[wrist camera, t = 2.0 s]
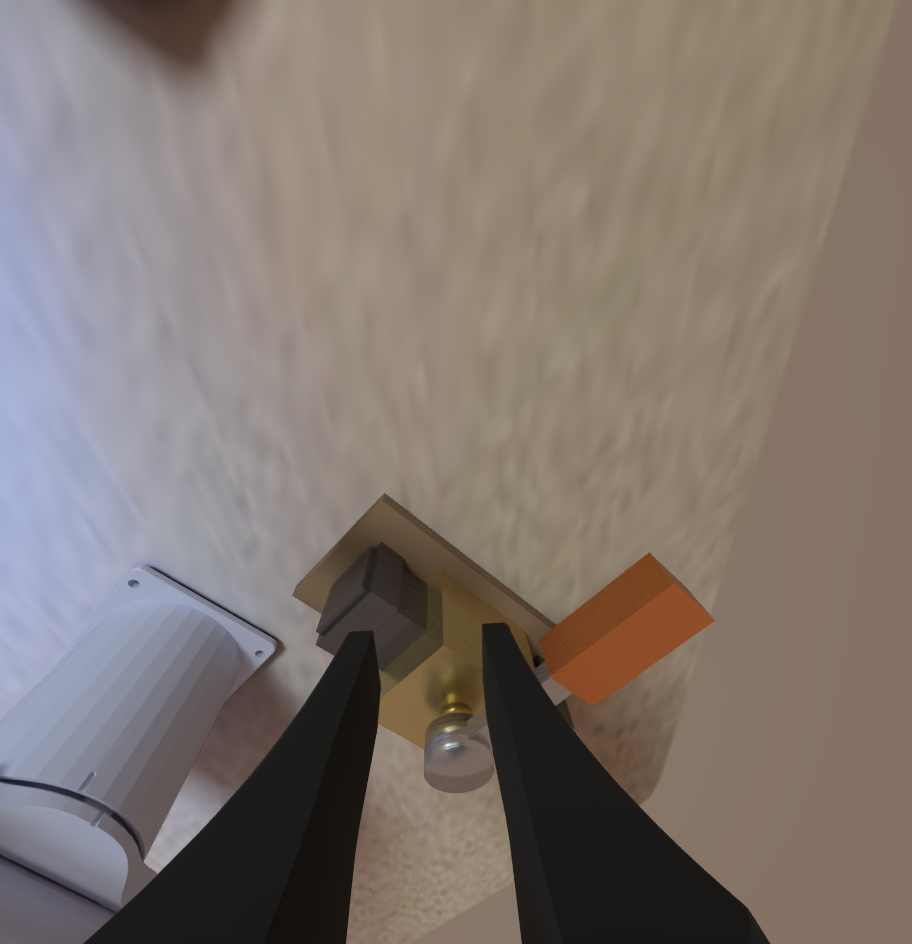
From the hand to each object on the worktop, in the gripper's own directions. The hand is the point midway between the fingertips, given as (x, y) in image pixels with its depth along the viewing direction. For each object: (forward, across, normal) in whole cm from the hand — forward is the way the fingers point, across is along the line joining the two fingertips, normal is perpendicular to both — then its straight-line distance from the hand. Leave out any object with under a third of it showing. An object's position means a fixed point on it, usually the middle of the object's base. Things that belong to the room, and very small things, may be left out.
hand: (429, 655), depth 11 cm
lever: (+3, -4, +4) cm, 6 cm away
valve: (+9, -1, +7) cm, 12 cm away
